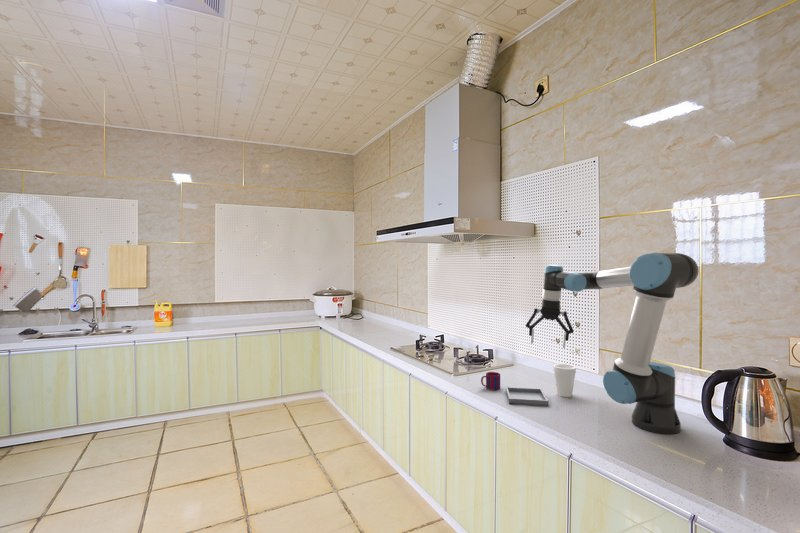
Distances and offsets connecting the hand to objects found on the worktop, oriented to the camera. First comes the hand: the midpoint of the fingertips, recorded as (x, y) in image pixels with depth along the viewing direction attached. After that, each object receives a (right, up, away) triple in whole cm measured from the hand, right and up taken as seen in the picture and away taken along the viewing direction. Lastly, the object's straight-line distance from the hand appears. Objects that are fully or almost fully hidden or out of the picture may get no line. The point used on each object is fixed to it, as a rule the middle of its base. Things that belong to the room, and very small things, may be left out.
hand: (547, 345), depth 177 cm
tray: (-11, -23, -4) cm, 26 cm away
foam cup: (+8, -23, 0) cm, 24 cm away
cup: (-24, -23, +10) cm, 35 cm away
